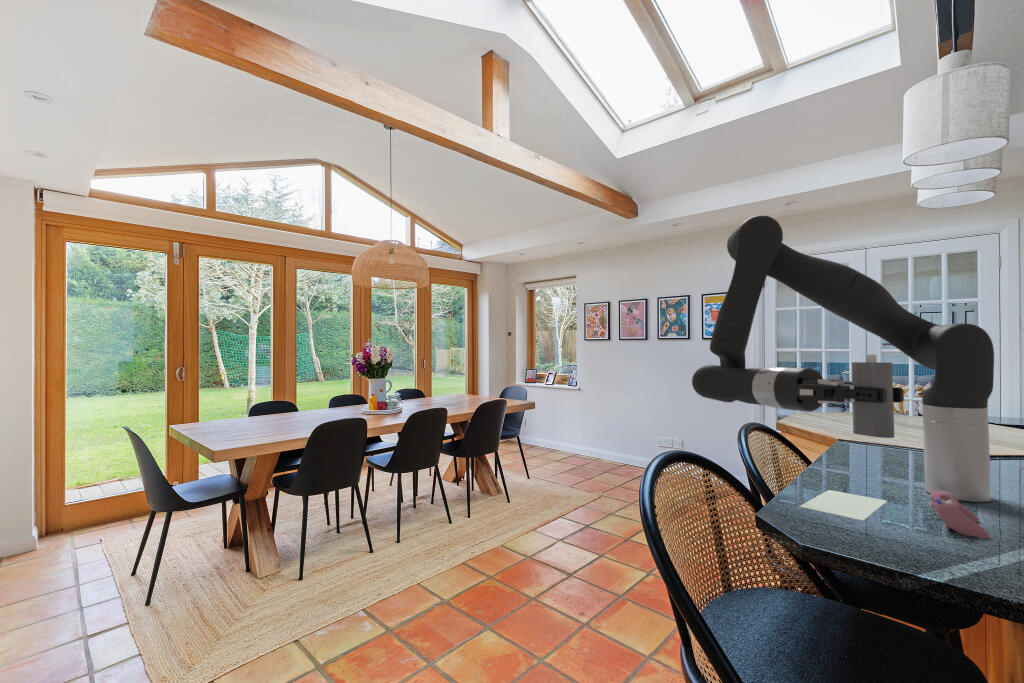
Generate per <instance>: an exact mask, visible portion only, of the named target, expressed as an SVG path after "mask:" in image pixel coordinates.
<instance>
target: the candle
mask: <svg viewBox="0 0 1024 683" xmlns="http://www.w3.org/2000/svg"><path fill="white" fill-rule="evenodd" d="M877 356H878V355H877V354H865V362H862V361H861V362H860V361H859V362H855V361H852V362H851V381H852V385H853V386H856V389H857V387H875V388H885V389H886V391H887V401H886V402H885V403H872V402H860V401H857V402H854V403H852V433H853V434H855V435H860V436H867V437H872V438H880V439H881V438H884V439H894V438H895V414H894V413H895V412H894V409H895V408H894V407H895V406H894V402H893V387H894V380H893V379H894V378H893V377H894V376H893V374H894V373H893V362H883V361H882V362H879V361H878V362H877V359H878V358H877Z"/></svg>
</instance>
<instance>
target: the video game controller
mask: <svg viewBox="0 0 1024 683" xmlns="http://www.w3.org/2000/svg"><path fill="white" fill-rule="evenodd" d="M929 497H930V500H931V502H929V503H928V504H929V507H930V508H931V509H932V510H933V511H935V512H936V514H937V516H938V517H939V519H940V520H942V521H943V523H944V524H943V527H947V528H948V529H949V530H953V531H955V532H956V533H958V534H961V535H965V536H970V537H976V538H982V539H991V537H990V534H989V533H988V531H987V530H986V529H985V528H984V527H983V526H981V525H980V524H979V523H980V520H979V518H978V516H976V514H975V513H974V512H972V511H971V510H969V509H968V508H967V507H965V506H964V505H962V504H961V503H960V500H958V499H957V497H956V496H954V495H953V494H951V493H949V492H946V491H936V492H931V494H930V493H929Z"/></svg>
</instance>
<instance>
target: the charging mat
mask: <svg viewBox="0 0 1024 683" xmlns="http://www.w3.org/2000/svg"><path fill="white" fill-rule="evenodd" d="M887 502H888V500H885V499H880V498H875V497H869V496H863V495H858V494H853V493H848V492H842V491H837V490H832V489H828V490H826V491H824V492H823V493H821V494H819V495H817V496H816V497H814V498H811V499H809V500H808V501H806V502H804V503H803V504H801V505H799V506H798V507H799V508H804V509H808V510H811V511H816V512H820V513H821V512H822V513H826V514H832V515H834V516H835V515H836V516H838V517H844V518H848V519H855V520H858V521H862V522H864V521H866V519H867V518H869V517H870V516H871V515H873V514H874V513H875V512H876V511H878V510H879V509H880V508H881V507H882V506H884V505H885V504H886V503H887Z"/></svg>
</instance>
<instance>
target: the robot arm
mask: <svg viewBox="0 0 1024 683" xmlns="http://www.w3.org/2000/svg"><path fill="white" fill-rule="evenodd" d="M783 233H784V232H783V228H782V226H781V225H780V223H779V222H778V220H776V219H775V218H774V217H771V216H770V215H764V214H763V215H761V214H760V215H755V216H752V217H750V218H748V219H746V220H744V221H743V222H742V223H740V225H738V226H737V227H736V228H735V229H734V231H733V232H731V234H730V235H729V236H728V239H727V242H726V248H727V252H728V254H729V256H730V258H732V259H733V261H735V264H734V269H733V273H732V274H733V275H732V278H731V280H730V284H729V286H728V289H727V292H726V294H725V297H724V299H723V301H722V304H721V306H720V308H719V311H718V314H717V316H716V320H715V322H714V323H715V324H714V328H713V331H712V334H711V339H710V343H709V350H710V352H711V353H712V354H714V355H715V356H716V357H718V358H719V364H720V365H716V364H715V365H714V364H708V365H703V366H701V367H699V368H698V369H697V370H695V372H694V374H693V376H692V378H691V384H692V388H693V390H694V391H695V392H696V394H697V395H699V396H700V397H703V398H706V399H710V400H714V401H718V402H723V403H733V402H736V401H738V402H740V403H741V402H742V403H745V404H751V405H756V406H757V405H758V406H759V405H760V406H765V407H770V408H775V409H782V410H792V411H799V412H809V413H810V412H814V411H816V410H818V409H819V408H820V407H821V406H822V404H845V403H850V404H853V403H854V402H857V401H860V402H872V403H885V402H886V401H887V391H886V389H885V388H875V387H857V389H856V386H853V385H852V380H841V379H836V378H823V376H822V375H821V373H820V372H819V371H817V370H816V369H814V368H809V367H770V368H760V367H758V368H755V367H754V368H753V367H752V368H746V349H747V345H748V342H749V339H750V334H751V330H752V326H753V323H754V318H755V314H756V311H757V307H758V304H759V299H760V297H761V293H762V289H763V287H764V284H765V282H766V280H767V277H770V278H772V279H774V280H776V281H778V282H780V283H782V284H784V285H785V286H786V287H788V288H790V289H791V290H793V291H794V292H797V293H798V294H799V295H801V296H803V297H804V298H807V299H809V300H810V301H811V302H813V303H815V304H817V305H819V306H820V307H822V308H823V309H825V310H827V311H829V312H830V313H833V314H834V315H836V316H838V317H840V318H843V319H844V320H847V321H848V322H850V323H852V324H854V325H855V326H857V327H858V328H861V329H863V330H865V331H867V332H869V333H871V334H874V335H875V336H877V337H879V338H881V339H882V340H884V341H886V342H887V343H888V344H890V345H892V346H893V347H895V348H896V349H898V350H899V351H900V352H902V353H904V354H905V355H906V356H908V357H909V358H910V359H911V360H913V361H915V362H917V363H918V364H919V365H922V366H923V367H925V368H926V369H930V370H934V372H935V373H934V374H935V375H934V381H933V383H932V385H930V387H928V388H926V389H925V390H923V392H922V394H921V403H922V406H921V408H922V428H923V429H922V430H923V431H922V432H923V433H922V434H923V435H922V436H923V458H924V459H923V462H924V467H923V468H924V492H926V493H928V494H929V495H930V494H931V492H936V491H946V492H949V493H951V494H953V495H954V496H956V497H957V499H958V501H965V502H975V503H976V502H977V503H985V502H990V501H992V488H991V487H992V486H991V485H992V484H991V483H992V482H991V477H992V476H991V457H990V456H991V455H990V454H991V453H990V432H989V428H990V426H989V408H988V407H989V406H988V404H989V402H988V401H989V398H990V397H991V395H992V392H993V390H994V376H995V375H994V374H995V373H994V370H995V352H994V351H995V349H994V345H993V341H992V338H991V337H990V334H988V332H987V331H986V330H985V329H983V327H982V328H981V327H980V326H979V325H976V324H972V323H960V322H959V323H952V324H950V323H949V324H937V323H933V322H931V321H929V320H927V319H924V318H923V317H920V316H918V315H916V314H914V313H912V312H910V311H908V310H907V309H905V307H902V306H901V304H899V303H898V302H897V301H896V300H895V299H894V297H893V296H892V295H891V294H890V292H889V291H888V290H887V289H886V288H885V287H884V286H883V285H882V284H881V283H880V282H878V281H877V280H875V279H874V278H872V277H869V276H867V275H866V274H864V273H862V272H860V271H858V270H856V269H855V268H852V267H851V266H848V265H846V264H845V265H844V264H842V263H839V262H835V261H832V260H830V259H829V260H828V259H823V258H820V257H816V256H812V255H808V254H805V253H803V252H799V251H797V250H796V249H793V248H792V247H790V246H788V245H787V244H785V243H783V239H784V238H783V237H784V234H783ZM904 400H905V392H904V389H903V388H902V387H898V386H897V387H896V386H893V403H903V402H904Z"/></svg>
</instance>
